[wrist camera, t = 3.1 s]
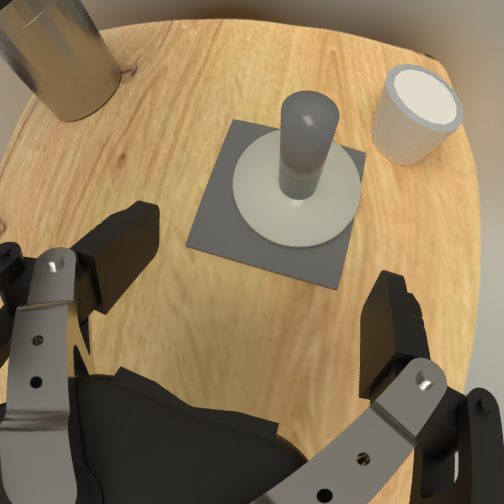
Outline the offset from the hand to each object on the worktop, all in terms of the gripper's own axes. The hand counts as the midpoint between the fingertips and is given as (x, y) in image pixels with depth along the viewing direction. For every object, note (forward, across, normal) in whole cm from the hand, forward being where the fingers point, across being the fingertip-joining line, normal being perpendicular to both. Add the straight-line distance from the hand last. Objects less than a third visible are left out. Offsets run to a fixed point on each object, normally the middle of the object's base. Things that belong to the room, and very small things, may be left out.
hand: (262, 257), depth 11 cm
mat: (+14, +1, +4) cm, 15 cm away
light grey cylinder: (+21, -8, -2) cm, 22 cm away
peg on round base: (+15, 0, +3) cm, 15 cm away
